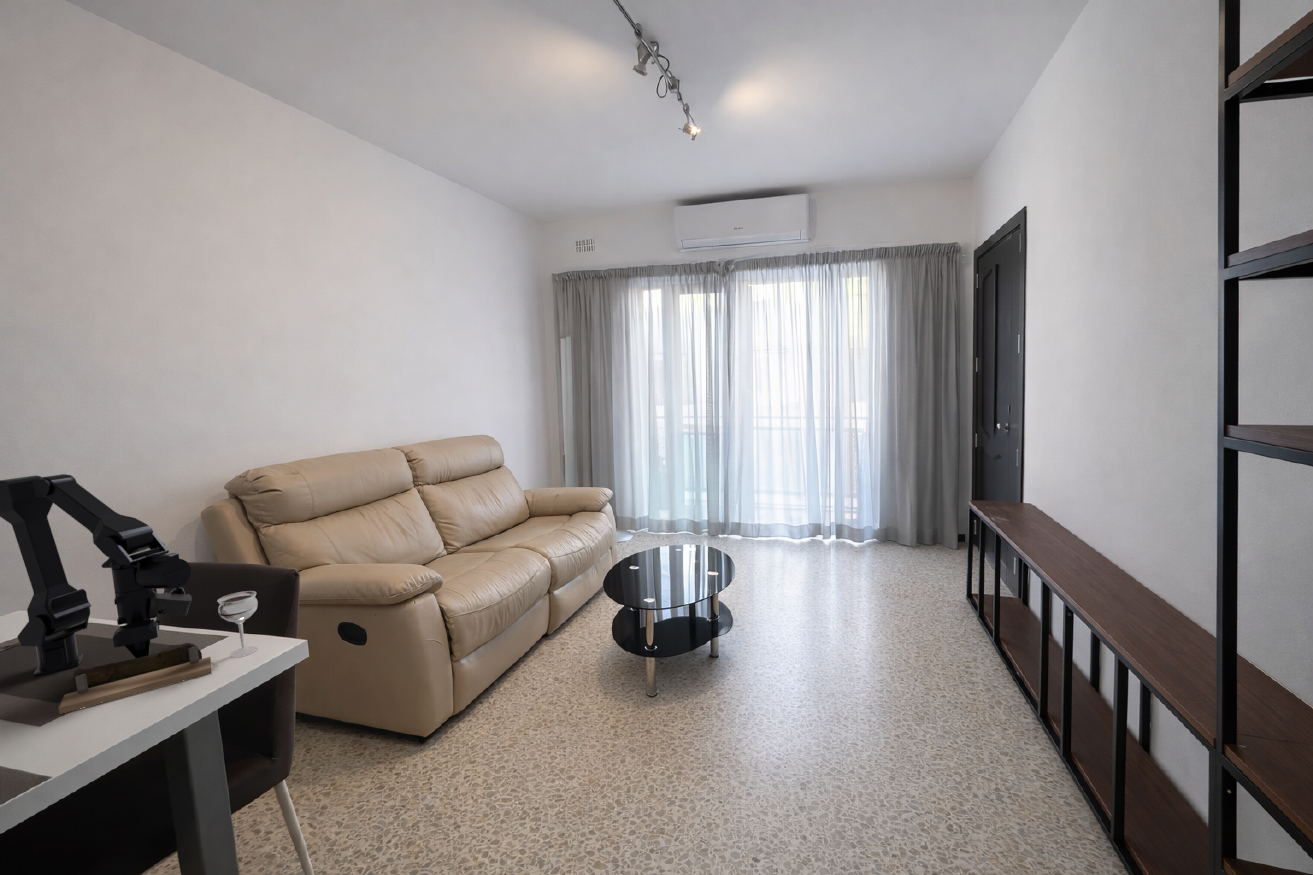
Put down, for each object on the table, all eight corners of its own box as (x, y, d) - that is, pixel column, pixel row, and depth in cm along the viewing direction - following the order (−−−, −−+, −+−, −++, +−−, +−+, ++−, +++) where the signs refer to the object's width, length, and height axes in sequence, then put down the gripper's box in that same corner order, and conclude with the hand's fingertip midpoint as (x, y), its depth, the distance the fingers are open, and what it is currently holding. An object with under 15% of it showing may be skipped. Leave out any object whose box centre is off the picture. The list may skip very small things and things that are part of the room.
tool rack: (65, 700, 105) (62, 678, 105) (211, 662, 118) (208, 642, 118) (59, 714, 101) (56, 691, 100) (211, 673, 113) (209, 652, 113)
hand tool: (71, 695, 108) (68, 671, 107) (80, 685, 111) (76, 662, 111) (199, 668, 117) (196, 646, 116) (203, 659, 120) (200, 638, 120)
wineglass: (260, 654, 121) (253, 598, 120) (220, 662, 118) (213, 605, 117) (265, 641, 127) (259, 588, 126) (227, 649, 124) (221, 595, 123)
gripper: (185, 589, 113) (195, 665, 114) (186, 567, 128) (195, 635, 129) (107, 604, 106) (119, 686, 108) (118, 580, 121) (128, 652, 122)
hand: (144, 662), depth 117 cm, fingers closed
